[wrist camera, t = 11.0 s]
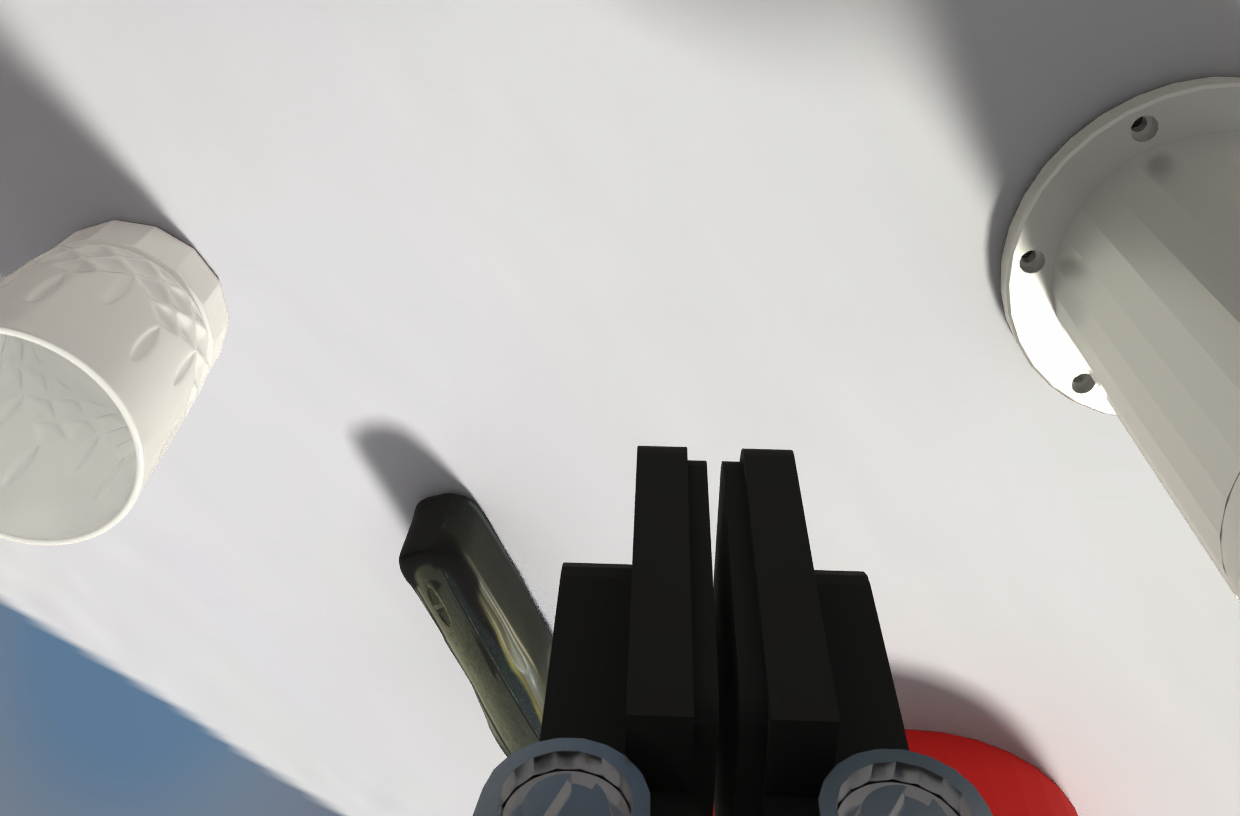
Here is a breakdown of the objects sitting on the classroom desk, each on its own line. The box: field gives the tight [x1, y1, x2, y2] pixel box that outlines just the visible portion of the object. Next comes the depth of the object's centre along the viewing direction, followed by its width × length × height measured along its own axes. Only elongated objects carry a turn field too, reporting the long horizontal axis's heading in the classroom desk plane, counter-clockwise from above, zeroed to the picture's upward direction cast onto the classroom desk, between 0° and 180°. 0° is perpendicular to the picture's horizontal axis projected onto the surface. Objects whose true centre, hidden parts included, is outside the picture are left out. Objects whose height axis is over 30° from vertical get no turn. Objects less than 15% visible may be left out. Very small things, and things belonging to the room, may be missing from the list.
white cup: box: [0, 220, 230, 545], centre depth 40 cm, size 8×8×10 cm
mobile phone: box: [399, 493, 553, 757], centre depth 49 cm, size 5×3×15 cm
